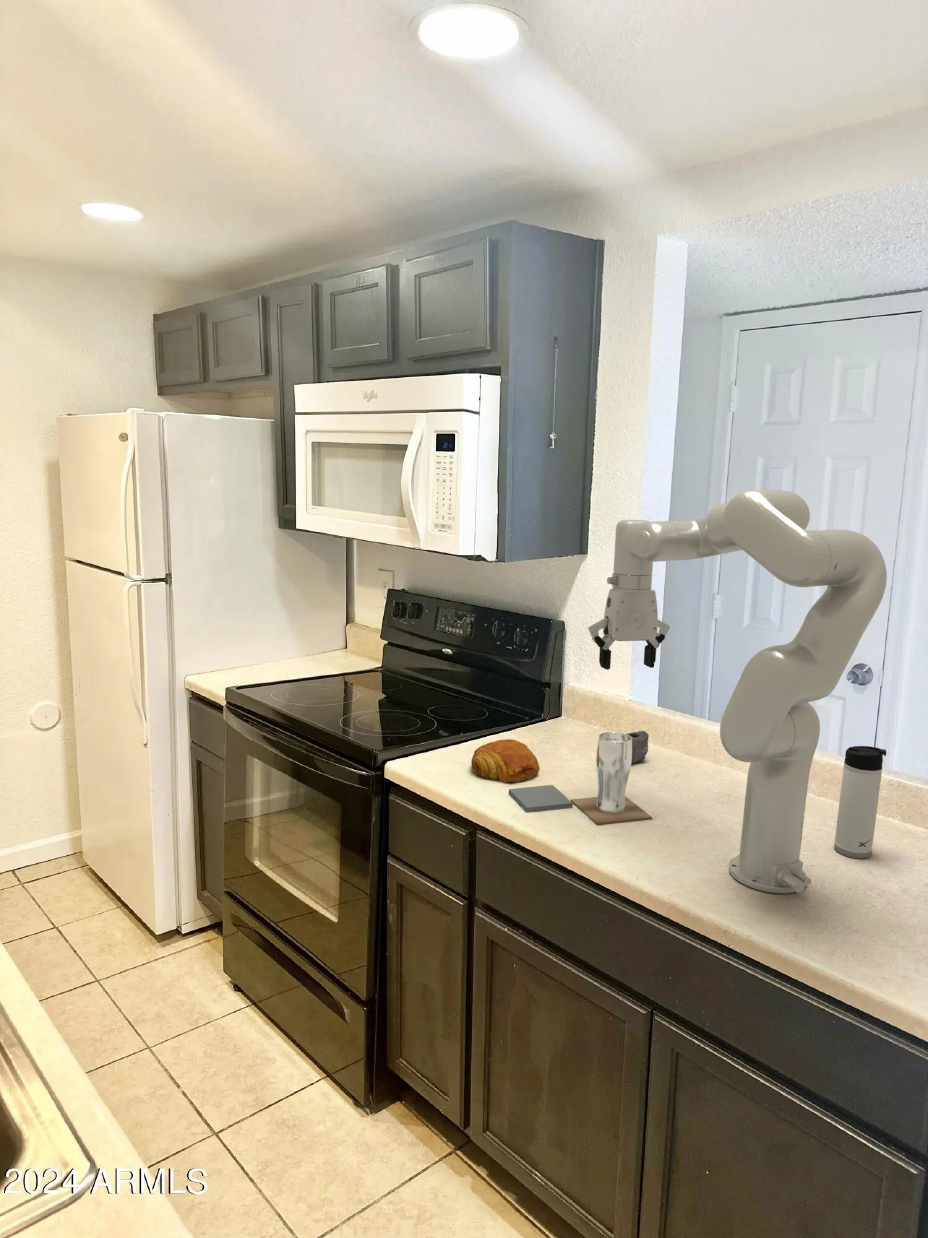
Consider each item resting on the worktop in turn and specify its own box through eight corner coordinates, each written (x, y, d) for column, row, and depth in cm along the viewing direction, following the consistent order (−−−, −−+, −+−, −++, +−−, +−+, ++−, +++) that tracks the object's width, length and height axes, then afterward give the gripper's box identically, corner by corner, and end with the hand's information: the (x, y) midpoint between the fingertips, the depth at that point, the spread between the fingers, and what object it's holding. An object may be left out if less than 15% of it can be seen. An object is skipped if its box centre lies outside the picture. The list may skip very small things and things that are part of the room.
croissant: (462, 776, 191) (458, 743, 189) (519, 757, 198) (516, 725, 197) (495, 797, 179) (491, 762, 177) (555, 776, 186) (552, 742, 184)
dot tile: (652, 819, 165) (652, 817, 165) (597, 825, 161) (597, 823, 161) (622, 796, 176) (622, 794, 176) (570, 801, 173) (570, 799, 173)
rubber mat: (572, 807, 170) (572, 803, 169) (526, 812, 166) (527, 807, 166) (552, 789, 179) (552, 784, 179) (508, 793, 176) (508, 789, 176)
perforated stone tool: (606, 772, 190) (607, 743, 189) (591, 765, 195) (592, 736, 193) (654, 762, 198) (656, 734, 197) (639, 755, 202) (641, 727, 201)
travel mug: (871, 863, 149) (884, 756, 146) (831, 853, 153) (843, 748, 149) (875, 850, 155) (888, 746, 151) (836, 841, 158) (848, 739, 154)
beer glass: (627, 817, 165) (633, 744, 162) (592, 813, 166) (596, 740, 163) (628, 803, 172) (633, 733, 169) (594, 799, 173) (598, 730, 170)
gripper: (600, 585, 159) (595, 673, 162) (680, 584, 164) (675, 669, 167) (584, 580, 167) (579, 664, 169) (661, 579, 171) (656, 661, 174)
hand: (627, 667), depth 168 cm, fingers open, 9 cm apart
